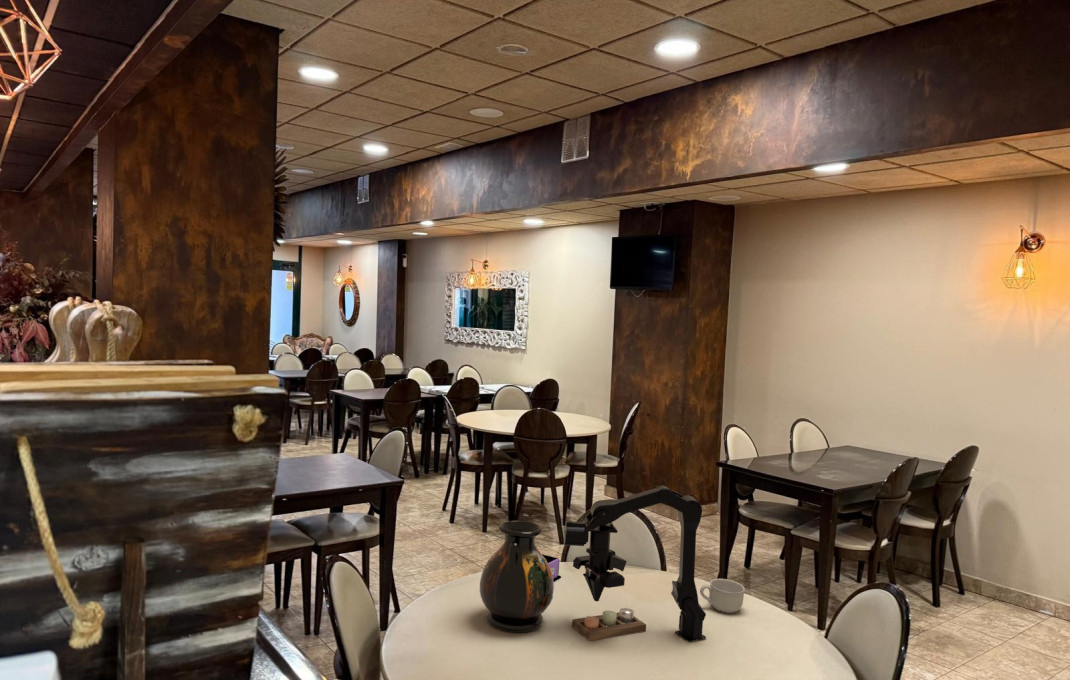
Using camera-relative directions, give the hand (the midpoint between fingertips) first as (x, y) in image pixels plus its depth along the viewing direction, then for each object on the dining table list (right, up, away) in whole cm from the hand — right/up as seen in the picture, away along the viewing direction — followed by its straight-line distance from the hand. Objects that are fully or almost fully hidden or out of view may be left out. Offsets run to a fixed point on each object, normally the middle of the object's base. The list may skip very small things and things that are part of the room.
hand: (596, 600), depth 202 cm
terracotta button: (-1, -8, 0) cm, 8 cm away
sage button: (+4, -8, +2) cm, 9 cm away
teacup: (+42, -11, +23) cm, 49 cm away
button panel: (+4, -9, +2) cm, 10 cm away
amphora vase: (-23, -8, +3) cm, 25 cm away
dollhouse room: (-16, -8, +41) cm, 45 cm away
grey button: (+9, -8, +5) cm, 13 cm away
